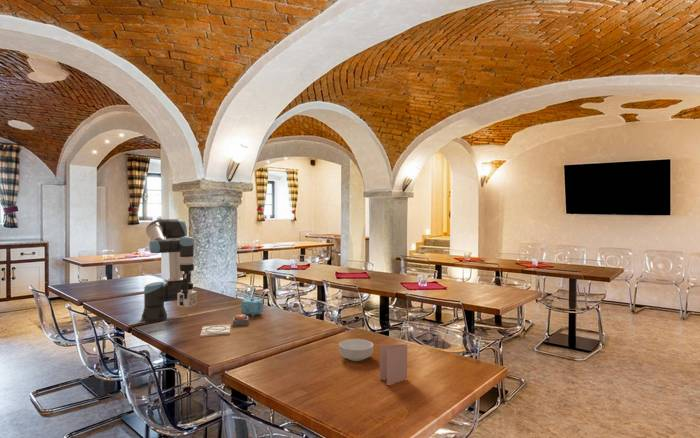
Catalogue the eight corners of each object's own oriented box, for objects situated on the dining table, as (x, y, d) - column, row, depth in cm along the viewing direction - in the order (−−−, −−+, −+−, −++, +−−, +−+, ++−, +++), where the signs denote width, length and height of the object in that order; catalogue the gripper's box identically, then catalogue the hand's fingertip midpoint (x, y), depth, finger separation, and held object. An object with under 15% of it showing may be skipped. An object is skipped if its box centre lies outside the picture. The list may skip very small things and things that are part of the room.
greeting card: (406, 378, 180) (406, 343, 180) (409, 386, 173) (409, 349, 172) (379, 379, 180) (379, 344, 179) (381, 386, 172) (381, 350, 172)
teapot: (235, 316, 280) (235, 299, 280) (251, 310, 297) (251, 294, 297) (255, 319, 274) (255, 301, 274) (270, 312, 291) (270, 296, 291)
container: (189, 307, 239) (189, 284, 239) (177, 306, 241) (176, 283, 240) (197, 304, 247) (196, 282, 246) (185, 303, 248) (184, 281, 248)
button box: (233, 322, 267) (233, 316, 266) (248, 321, 269) (248, 315, 269) (233, 326, 258) (233, 320, 258) (248, 325, 260) (248, 319, 260)
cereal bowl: (362, 367, 193) (362, 352, 192) (332, 360, 201) (332, 345, 201) (379, 356, 207) (379, 342, 207) (350, 350, 216) (350, 336, 216)
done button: (235, 318, 265) (235, 314, 265) (245, 318, 267) (245, 314, 267) (235, 321, 260) (235, 317, 260) (245, 320, 261) (245, 316, 261)
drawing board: (202, 327, 254) (202, 325, 254) (230, 326, 258) (230, 323, 258) (200, 336, 237) (200, 334, 237) (229, 334, 241) (229, 332, 241)
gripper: (191, 266, 233) (191, 306, 234) (195, 261, 255) (196, 297, 256) (176, 266, 231) (177, 307, 232) (182, 261, 253) (182, 298, 254)
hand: (187, 302), depth 244 cm, fingers closed on container, 10 cm apart
